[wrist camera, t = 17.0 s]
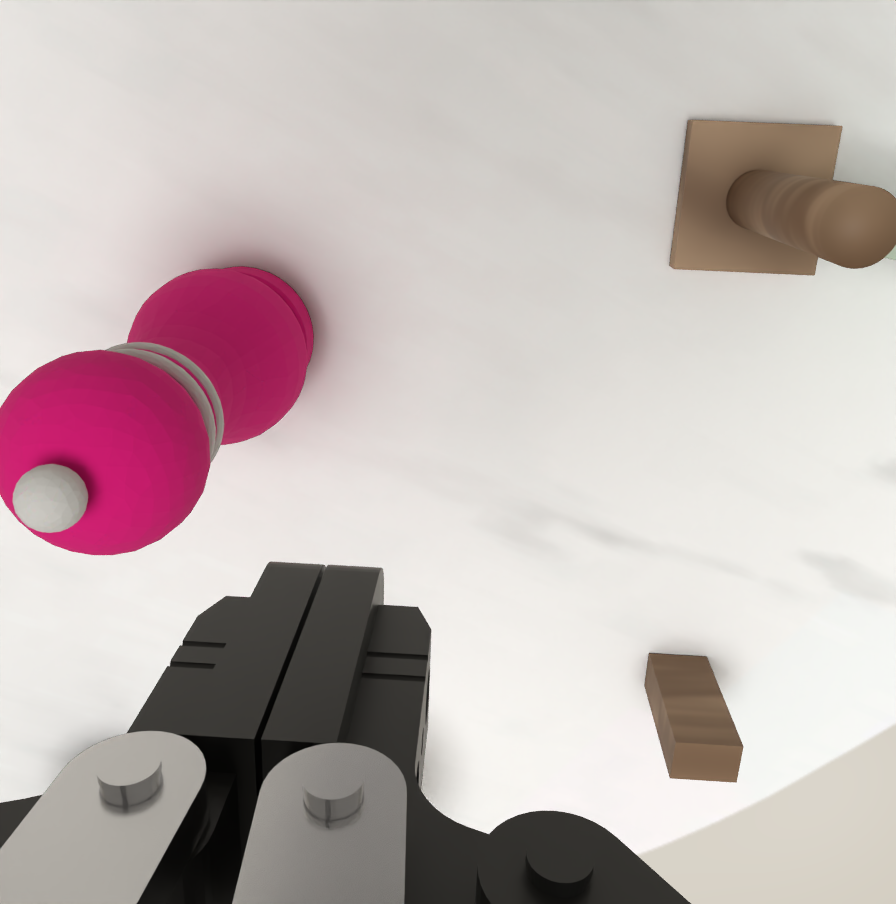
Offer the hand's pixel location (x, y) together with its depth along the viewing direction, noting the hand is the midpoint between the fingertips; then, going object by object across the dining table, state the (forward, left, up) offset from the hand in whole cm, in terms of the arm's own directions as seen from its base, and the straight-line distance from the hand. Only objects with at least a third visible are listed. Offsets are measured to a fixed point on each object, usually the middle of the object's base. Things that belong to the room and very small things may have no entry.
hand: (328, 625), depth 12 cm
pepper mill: (+3, -9, -29) cm, 31 cm away
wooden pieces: (+7, +13, -29) cm, 33 cm away
